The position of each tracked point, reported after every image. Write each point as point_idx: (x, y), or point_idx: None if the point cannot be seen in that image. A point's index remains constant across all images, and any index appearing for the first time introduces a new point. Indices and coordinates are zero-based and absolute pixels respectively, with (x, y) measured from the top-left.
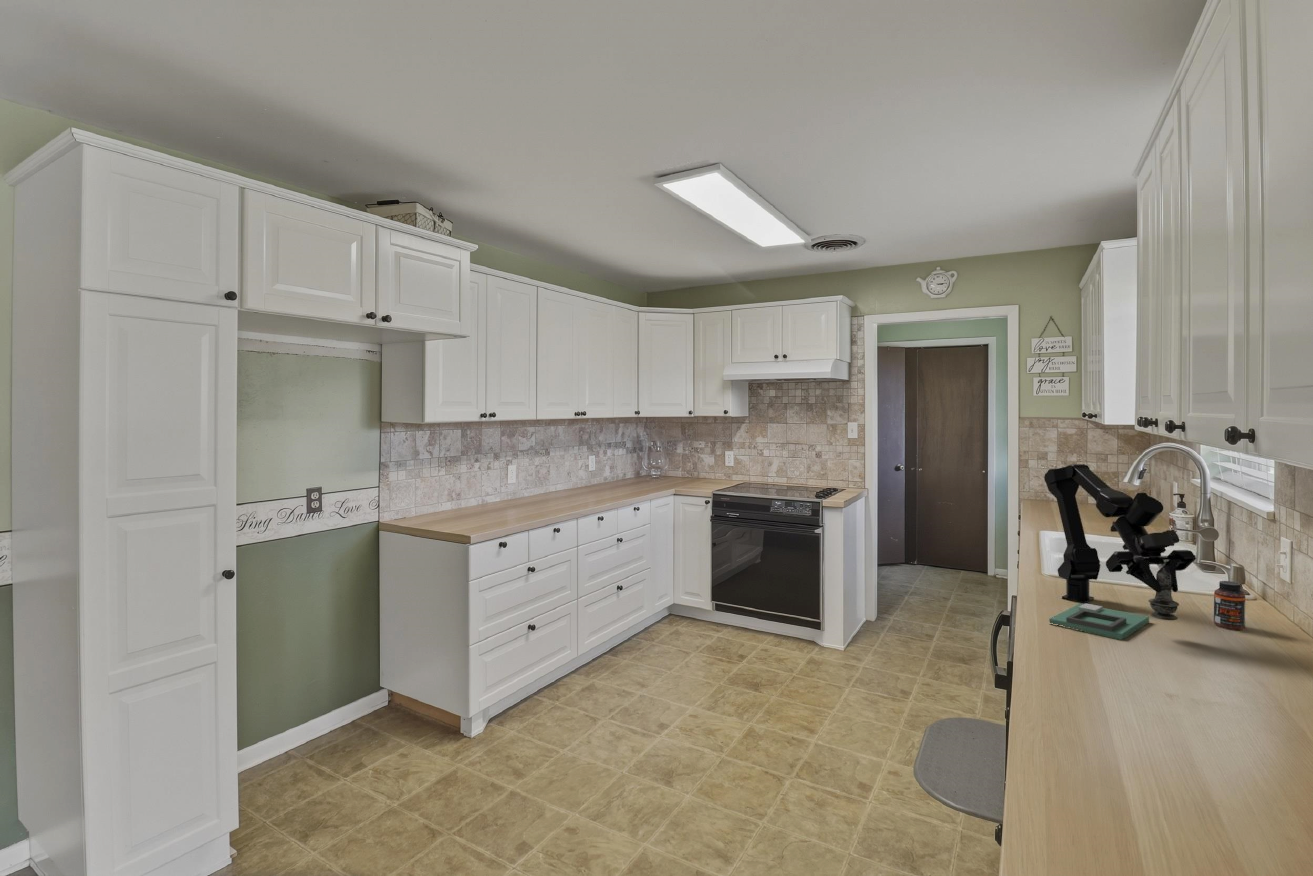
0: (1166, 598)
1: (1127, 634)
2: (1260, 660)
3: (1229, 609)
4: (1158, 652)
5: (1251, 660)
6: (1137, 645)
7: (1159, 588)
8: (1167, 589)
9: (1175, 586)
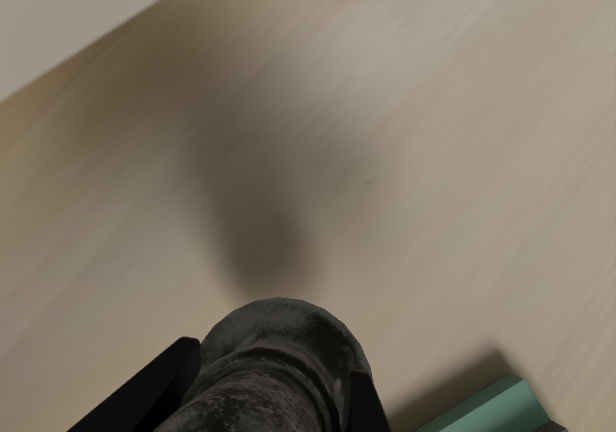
0: (297, 353)
1: (444, 417)
2: (191, 80)
3: None
4: (468, 210)
5: (218, 85)
6: (489, 297)
7: (364, 385)
8: (284, 360)
9: (176, 364)
